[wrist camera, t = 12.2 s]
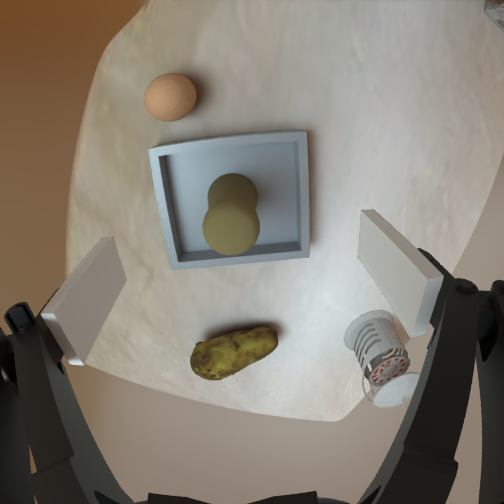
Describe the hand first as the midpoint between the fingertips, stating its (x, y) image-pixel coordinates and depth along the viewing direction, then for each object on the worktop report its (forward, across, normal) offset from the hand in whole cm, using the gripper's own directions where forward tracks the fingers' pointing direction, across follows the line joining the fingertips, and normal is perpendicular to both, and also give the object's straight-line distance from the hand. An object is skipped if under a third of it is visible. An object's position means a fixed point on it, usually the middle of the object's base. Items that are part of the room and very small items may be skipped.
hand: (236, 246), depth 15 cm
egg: (+22, -6, +9) cm, 24 cm away
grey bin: (+21, -1, -4) cm, 22 cm away
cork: (+21, -1, -4) cm, 21 cm away
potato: (+21, -4, -26) cm, 34 cm away
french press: (+21, +19, -30) cm, 42 cm away
